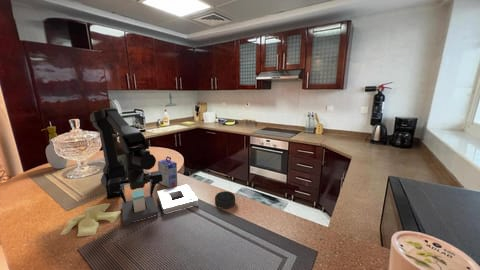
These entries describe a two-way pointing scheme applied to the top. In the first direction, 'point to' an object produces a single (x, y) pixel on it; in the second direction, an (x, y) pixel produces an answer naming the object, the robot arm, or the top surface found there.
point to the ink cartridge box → (168, 172)
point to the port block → (184, 202)
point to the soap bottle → (50, 153)
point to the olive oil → (120, 153)
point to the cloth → (91, 220)
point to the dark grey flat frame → (131, 217)
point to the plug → (138, 200)
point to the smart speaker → (225, 199)
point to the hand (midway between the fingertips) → (138, 199)
